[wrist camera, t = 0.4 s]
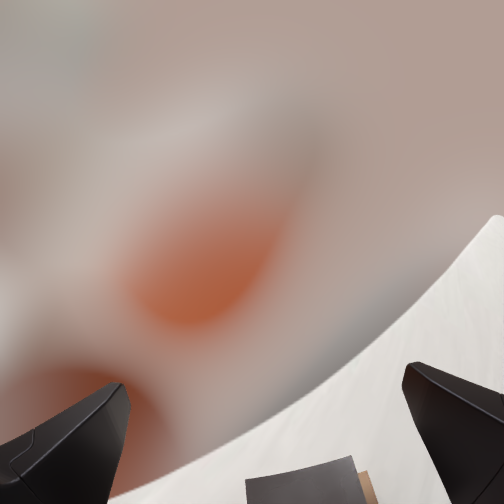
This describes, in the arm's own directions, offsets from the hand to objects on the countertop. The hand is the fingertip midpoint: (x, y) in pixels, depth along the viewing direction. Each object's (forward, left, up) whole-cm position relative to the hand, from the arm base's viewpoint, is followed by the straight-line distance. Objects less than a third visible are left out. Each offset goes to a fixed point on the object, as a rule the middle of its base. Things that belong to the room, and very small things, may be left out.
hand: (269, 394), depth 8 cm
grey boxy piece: (-2, 0, -17) cm, 17 cm away
